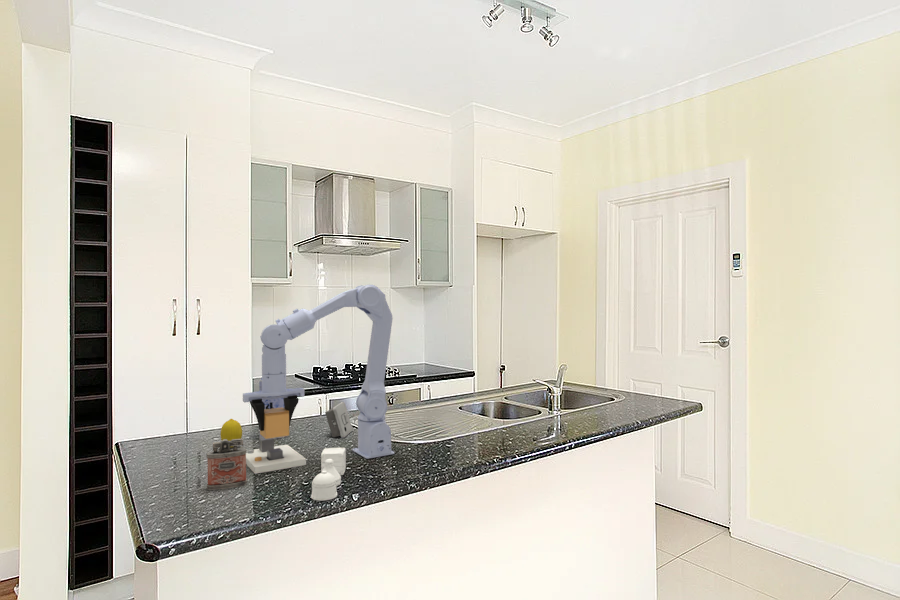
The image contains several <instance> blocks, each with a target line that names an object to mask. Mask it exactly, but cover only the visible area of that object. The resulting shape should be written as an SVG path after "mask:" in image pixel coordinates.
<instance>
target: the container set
mask: <svg viewBox="0 0 900 600" xmlns="http://www.w3.org/2000/svg"><path fill="white" fill-rule="evenodd" d="M346 450H347V449H346V447H325V448H324V449H322V452H321V454H320V458H321V459H320V460H321V461H320V463H321V464H320V466H321V471H320V472H319V473H318V474H317V475H316V476H314V477H313V480H312V482H311V496H310V497H311V499H312V500H314V501H320V502H321V501H331V500H333V499H336V498H337V497H338V492H337V487H338V486H340V485H341V484H342V476H343V475H344V474H345V472H346V468H347V459H346V458H347V456H346V455H347V454H346V452H347V451H346Z"/></svg>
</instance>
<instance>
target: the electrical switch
mask: <svg viewBox="0 0 900 600" xmlns="http://www.w3.org/2000/svg"><path fill="white" fill-rule="evenodd" d="M325 416H326V421H327V424H328V426H329V431H330V434H331V436H332V437H331V438H336V437H340V438H341V439H344V438H346V437H347V436H348V435H349V434H351V432H352V431H353V425H352V422H351V419H350V415H349V411H348V408H347V406H346V403H345V401H342V402H339V403H338V404H336V405H335V406H333V407H332V408H330V409H328V410H327V411H325Z"/></svg>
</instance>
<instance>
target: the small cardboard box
mask: <svg viewBox="0 0 900 600" xmlns="http://www.w3.org/2000/svg"><path fill="white" fill-rule="evenodd" d="M260 434H261V435H262V436H263V437H264V438H265V439H268V438H275V437H282V436H285V437H288V436H290V427H289V411H288V410H286V409H285V408H283V407H281V408H272V409H264V431H260V430H259V435H260ZM282 438H283V437H282Z"/></svg>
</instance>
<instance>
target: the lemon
mask: <svg viewBox="0 0 900 600" xmlns="http://www.w3.org/2000/svg"><path fill="white" fill-rule="evenodd" d="M242 437H243V428H242V425H241V424H240V422H239V421H237V420H234V419H233V418H230V419H229V420H227V421H225V422H224V423H223V424H222V426H221V428H220V441H222V440H223V439H227V440H228V441H232V440H233V439H243V438H242ZM230 447H231V449H233V447H234V446H230Z"/></svg>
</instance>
